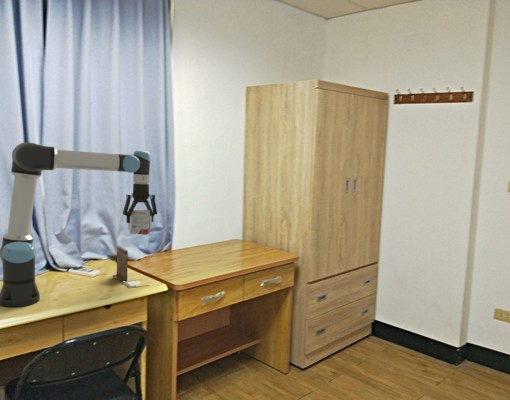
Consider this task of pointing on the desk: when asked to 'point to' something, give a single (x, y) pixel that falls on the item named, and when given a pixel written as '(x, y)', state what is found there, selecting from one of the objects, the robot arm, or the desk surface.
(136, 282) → the mat
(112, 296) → the desk surface
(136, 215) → the ink box
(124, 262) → the screen
